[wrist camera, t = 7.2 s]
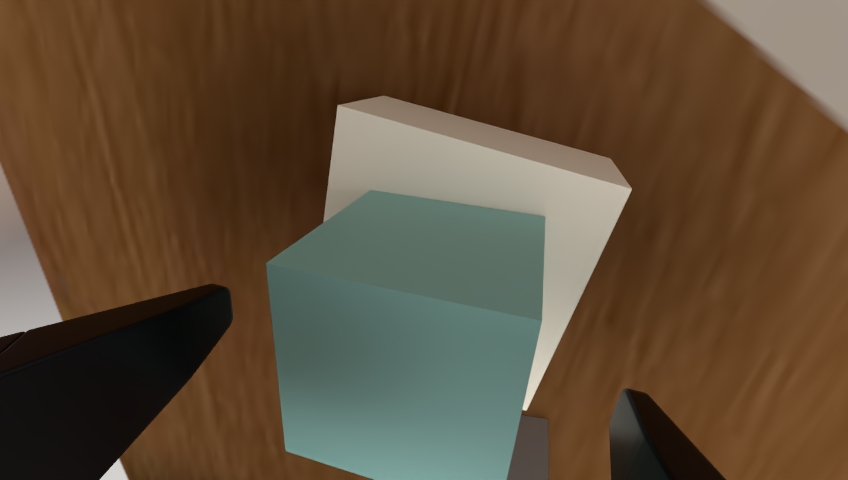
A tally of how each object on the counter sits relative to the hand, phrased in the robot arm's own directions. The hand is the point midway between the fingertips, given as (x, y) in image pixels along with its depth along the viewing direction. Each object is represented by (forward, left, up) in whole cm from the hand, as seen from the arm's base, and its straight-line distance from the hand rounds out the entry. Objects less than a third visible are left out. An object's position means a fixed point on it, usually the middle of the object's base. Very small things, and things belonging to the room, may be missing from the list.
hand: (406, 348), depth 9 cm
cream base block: (0, 0, -8) cm, 8 cm away
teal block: (0, 0, -4) cm, 4 cm away
